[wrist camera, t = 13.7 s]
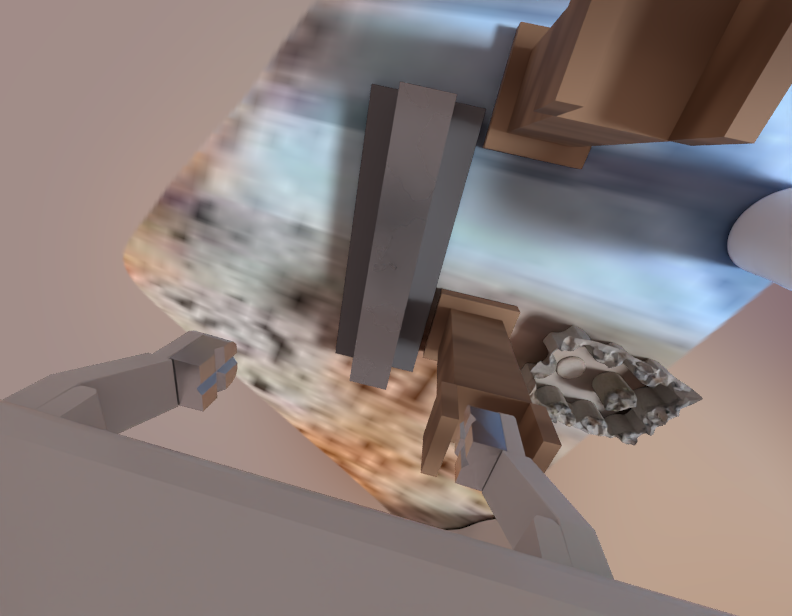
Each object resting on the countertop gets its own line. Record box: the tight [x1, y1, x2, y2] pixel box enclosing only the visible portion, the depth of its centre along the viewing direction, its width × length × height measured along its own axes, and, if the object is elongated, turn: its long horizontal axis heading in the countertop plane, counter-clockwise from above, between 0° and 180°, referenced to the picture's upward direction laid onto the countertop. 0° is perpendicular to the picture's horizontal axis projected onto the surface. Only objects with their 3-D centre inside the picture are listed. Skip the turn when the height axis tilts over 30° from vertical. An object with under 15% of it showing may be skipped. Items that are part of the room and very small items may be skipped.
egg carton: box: [521, 326, 702, 445], centre depth 25 cm, size 11×8×4 cm
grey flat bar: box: [336, 84, 486, 372], centre depth 24 cm, size 20×7×1 cm, turn 169°
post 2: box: [483, 0, 792, 169], centre depth 13 cm, size 6×6×12 cm
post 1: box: [421, 289, 562, 477], centre depth 20 cm, size 6×6×12 cm
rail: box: [349, 82, 457, 390], centre depth 22 cm, size 20×3×3 cm, turn 169°
